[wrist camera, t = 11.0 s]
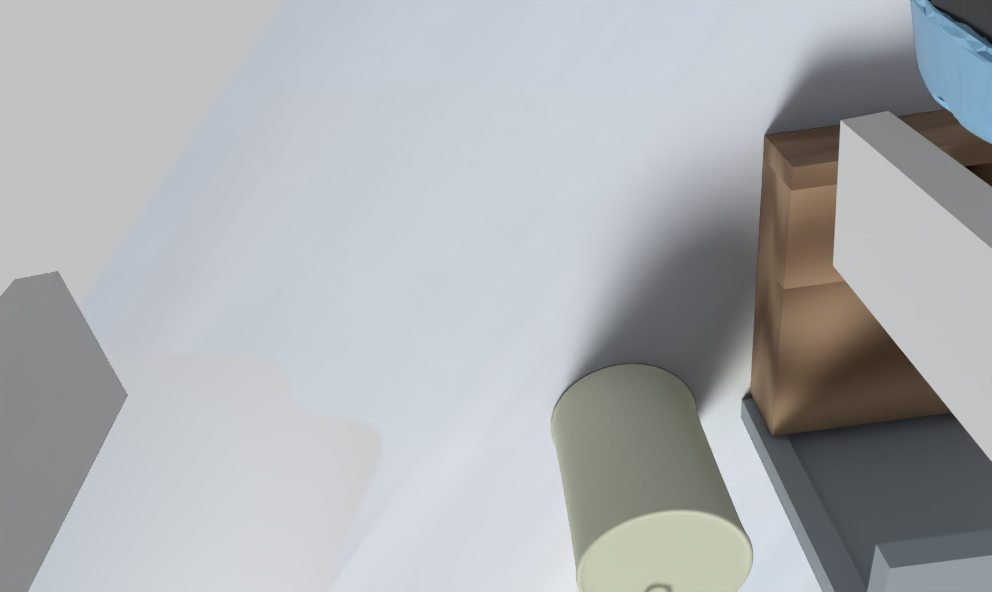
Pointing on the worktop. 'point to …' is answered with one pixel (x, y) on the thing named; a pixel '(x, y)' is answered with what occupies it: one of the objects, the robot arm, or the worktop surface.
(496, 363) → the worktop surface
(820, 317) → the socket block
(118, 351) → the worktop surface
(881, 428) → the grey open drawer
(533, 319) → the worktop surface
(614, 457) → the can
